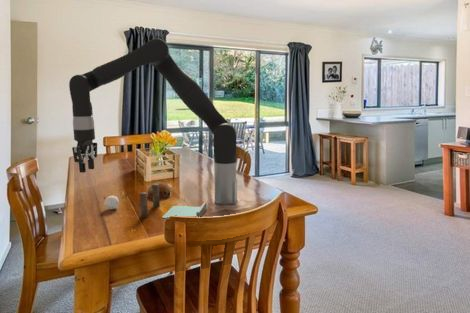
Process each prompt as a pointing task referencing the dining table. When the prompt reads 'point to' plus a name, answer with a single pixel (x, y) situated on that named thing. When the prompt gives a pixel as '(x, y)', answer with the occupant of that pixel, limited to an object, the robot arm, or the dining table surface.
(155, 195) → the post right
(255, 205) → the dining table surface
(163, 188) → the coconut
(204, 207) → the stopper strip
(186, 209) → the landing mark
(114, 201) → the ball
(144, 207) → the post left
